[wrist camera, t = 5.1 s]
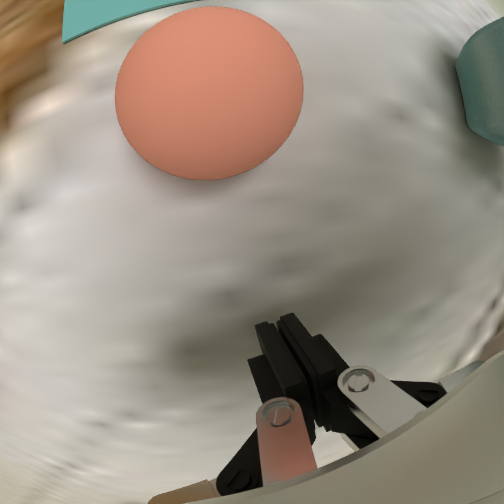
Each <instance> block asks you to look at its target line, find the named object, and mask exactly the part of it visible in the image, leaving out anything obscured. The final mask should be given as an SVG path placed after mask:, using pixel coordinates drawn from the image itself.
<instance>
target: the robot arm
mask: <svg viewBox="0 0 504 504" xmlns="http://www.w3.org/2000/svg"><path fill="white" fill-rule="evenodd" d="M277 327H278V330H277V328H276V327H275V325H274V323H271V324H269V323H268V322H267V321H266V322H263V323H260V324H257V325H255V329H256V333H257V336H258V339H259V343H260V346H261V350H262V353H263V355H260V356H257V357H254V358H251V359H248V360H247V361H248V364H249V366H250V369H251V372H252V375H253V378H254V381H255V384H256V387H257V389H258V392H259V395H260V398H261V401H262V403H263V404H262V405H261V406H260V407H259V409H258V411H257V413H256V424H257V428H256V429H255V431H254V432H253V433H252V435H251V436H250V437H249V438H248V440H247V441H246V442H245V443H244V445H243V446H242V447H241V449H240V450H239V451H238V452H237V453H236V455H235V456H234V457H233V458H232V460H231V461H230V462H229V463H228V464H227V465H226V467H225V468H224V469H223V470H222V471H221V472H220V474H219V476H218V477H217V478H216V479H213V480H210V481H208V480H207V479H206V480H203V481H201V482H198V483H195V484H192V485H189V486H186V487H183V488H180V489H177V490H173V491H170V492H166V493H163V494H159V495H157V496H154V497H153V498H152V499H151V500H150V501H149V502H148V504H504V351H502V352H500V353H498V354H496V355H495V356H493V357H492V358H490V359H489V360H487V361H486V362H484V361H475V362H472V363H471V364H469V365H467V366H465V367H463V368H461V369H459V370H457V371H455V372H453V373H451V374H449V375H447V376H445V377H443V378H441V379H439V380H438V383H432V382H411V381H393V380H388V379H387V378H385V377H384V376H383V375H381V374H380V373H379V372H377V371H376V370H375V369H373V368H371V367H368V366H354V367H351V368H350V367H349V366H348V365H347V364H346V362H345V361H344V360H343V359H342V358H341V356H340V355H339V354H338V353H337V352H336V351H335V349H334V348H333V347H332V346H331V345H330V344H329V342H328V341H327V340H326V339H325V338H324V336H323V335H321V334H318V335H316V336H313V337H312V336H311V335H310V334H309V332H308V331H307V330H306V328H305V327H304V326H303V325H302V323H301V322H300V321H299V319H298V318H297V317H296V316H295V314H294V313H290V314H287V315H284V316H281V317H280V321H277ZM278 331H279V332H278ZM314 420H315V422H316V424H317V425H318V427H322V426H324V428H325V430H326V432H328V431H330V430H332V432H337V433H340V435H341V437H342V438H343V439H344V440H345V441H346V443H347V444H348V445H349V446H350V447H351V448H352V449H353V450H354V451H355V452H354V453H352V454H350V455H348V456H346V457H343V458H341V459H339V460H337V461H335V462H332V463H330V464H328V465H325V466H323V467H320V468H318V469H317V465H316V462H315V458H314V454H313V451H312V447H311V446H312V445H313V443H314V441H315V439H316V435H315V423H314Z"/></svg>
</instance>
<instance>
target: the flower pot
mask: <svg viewBox="0 0 504 504" xmlns="http://www.w3.org/2000/svg"><path fill="white" fill-rule="evenodd" d="M455 67H456V71H457V75H458V79H459V83H460V87H461V91H462V96H463V102H464V107H465V114H466V120H467V125H468V127H469V128H470V130H472V131H473V132H475V133H477V134H478V135H480V136H481V137H483V138H485V139H487V140H489V141H491V142H494V143H496V144H498V145H501V146H504V17H502V18H500V19H498V20H496V21H494V22H492V23H490V24H488V25H486V26H484V27H483V28H481V29H480V30H478V31H477V32H476V33H475V34H473V35H472V36H471V37H470V39H469V40H468V41H467V42H466V44H465V45H464V47H463V48H462V50H461V52H460V55H459V57H458V59H457V62H456V64H455Z"/></svg>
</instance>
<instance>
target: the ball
mask: <svg viewBox="0 0 504 504" xmlns="http://www.w3.org/2000/svg"><path fill="white" fill-rule="evenodd" d="M302 101H303V77H302V72H301V68H300V65H299V62H298V60H297V57H296V55H295V53H294V51H293V50H292V48H291V46H290V45H289V43H288V42H287V41H286V40H285V38H284V37H283V36H282V35H281V34H280V33H279V32H278V31H277V30H276V29H275V28H274V27H272V26H271V25H270V24H268V23H267V22H265V21H264V20H262V19H261V18H259V17H256V16H254V15H252V14H250V13H247V12H244V11H241V10H237V9H233V8H227V7H200V8H194V9H190V10H186V11H183V12H179V13H176V14H174V15H172V16H170V17H168V18H166V19H164V20H162V21H160V22H159V23H157V24H156V25H154V26H153V27H152V28H150V29H149V30H148V31H146V32H145V33H144V34H143V35H142V36H141V37H140V38H139V39H138V40H137V42H136V43H135V44H134V45H133V47H132V48H131V49H130V51H129V52H128V54H127V56H126V58H125V59H124V61H123V63H122V66H121V68H120V71H119V74H118V78H117V82H116V88H115V106H116V113H117V117H118V121H119V124H120V127H121V129H122V131H123V134H124V135H125V137H126V138H127V140H128V142H129V143H130V145H131V146H132V147H133V148H134V149H135V150H136V152H137V153H138V154H139V155H140V156H141V157H143V158H144V159H145V160H146V161H147V162H149V163H150V164H152V165H153V166H155V167H156V168H158V169H160V170H162V171H164V172H167V173H169V174H172V175H175V176H178V177H182V178H186V179H195V180H215V179H222V178H227V177H231V176H235V175H238V174H240V173H243V172H246V171H248V170H250V169H252V168H254V167H255V166H257V165H259V164H261V163H262V162H264V161H265V160H266V159H268V158H269V157H270V156H271V155H273V154H274V153H275V152H276V151H277V150H278V149H279V148H280V147H281V145H282V144H283V143H284V142H285V141H286V139H287V138H288V136H289V135H290V133H291V132H292V130H293V128H294V126H295V124H296V122H297V119H298V116H299V114H300V111H301V106H302Z"/></svg>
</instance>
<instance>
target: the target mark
mask: <svg viewBox="0 0 504 504" xmlns="http://www.w3.org/2000/svg"><path fill="white" fill-rule="evenodd" d="M190 1H196V0H65V5H64V16H63V36H62V42H63V43H64V44H65V43H67V42H69V41H71V40H73V39H75V38H77V37H79V36H81V35H83V34H85V33H88V32H90V31H92V30H95V29H97V28H100V27H102V26H105V25H107V24H110V23H113V22H115V21H118V20H121V19H124V18H127V17H130V16H133V15H136V14H140V13H143V12H146V11H150V10H154V9H158V8H162V7H166V6H170V5H175V4H180V3H185V2H190Z"/></svg>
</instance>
